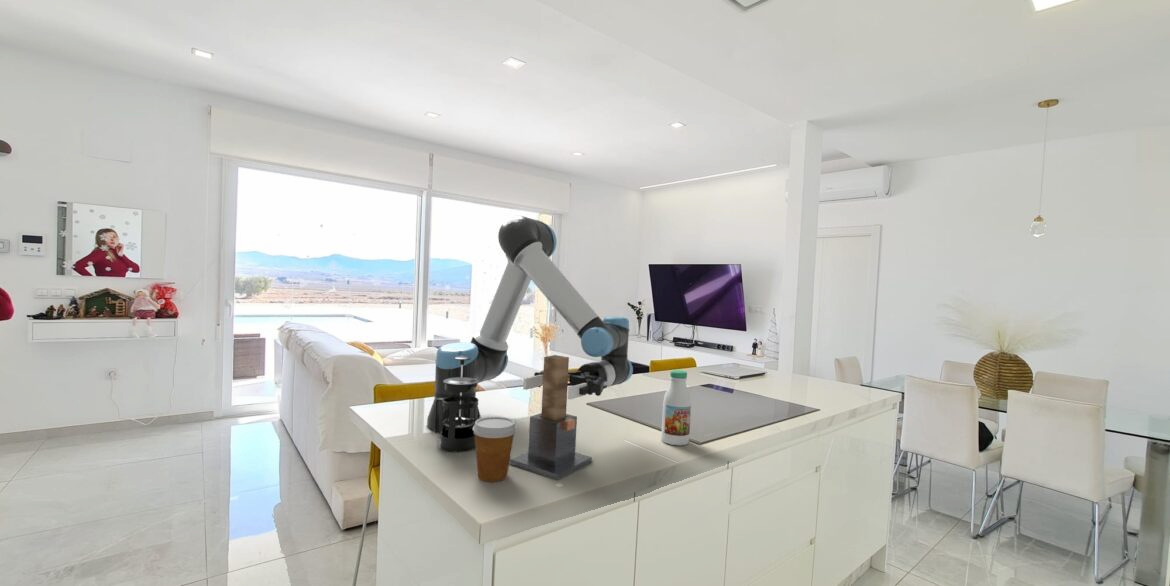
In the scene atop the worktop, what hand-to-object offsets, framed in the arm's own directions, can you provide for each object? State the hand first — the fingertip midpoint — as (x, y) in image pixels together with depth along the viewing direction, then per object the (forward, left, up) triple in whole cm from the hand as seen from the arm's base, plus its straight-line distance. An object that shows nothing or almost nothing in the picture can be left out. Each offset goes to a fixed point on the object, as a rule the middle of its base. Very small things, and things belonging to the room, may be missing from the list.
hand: (546, 388), depth 114 cm
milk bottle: (+9, +41, -19) cm, 46 cm away
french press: (-25, -8, -19) cm, 32 cm away
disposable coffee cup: (-3, -12, -19) cm, 22 cm away
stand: (-1, +3, -18) cm, 19 cm away
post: (-1, +3, -17) cm, 17 cm away
